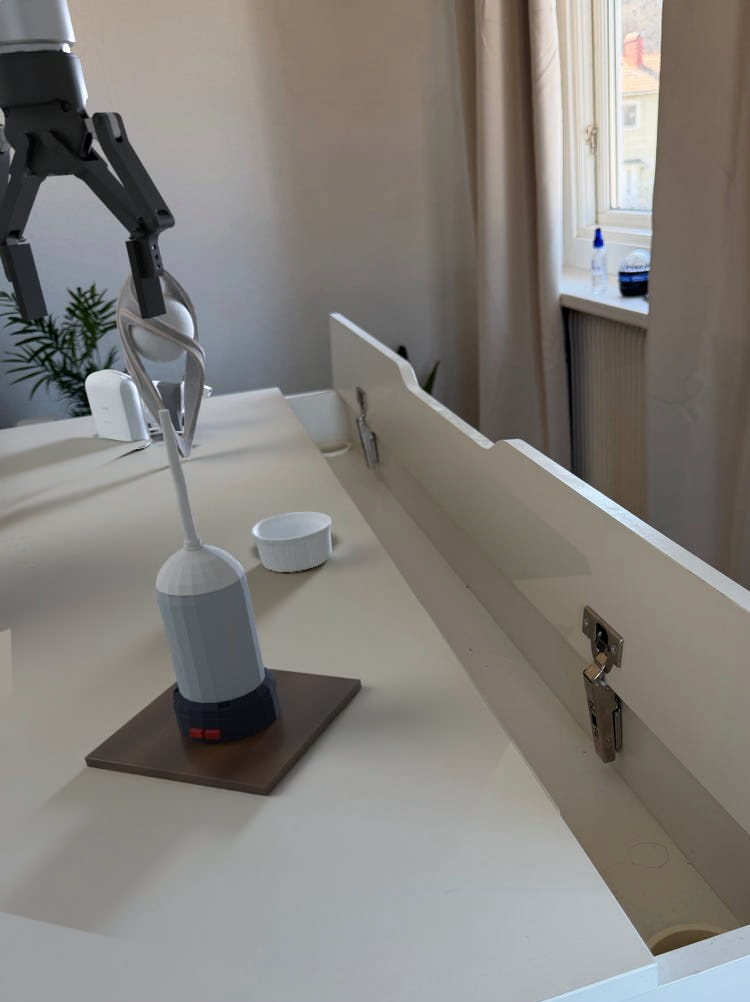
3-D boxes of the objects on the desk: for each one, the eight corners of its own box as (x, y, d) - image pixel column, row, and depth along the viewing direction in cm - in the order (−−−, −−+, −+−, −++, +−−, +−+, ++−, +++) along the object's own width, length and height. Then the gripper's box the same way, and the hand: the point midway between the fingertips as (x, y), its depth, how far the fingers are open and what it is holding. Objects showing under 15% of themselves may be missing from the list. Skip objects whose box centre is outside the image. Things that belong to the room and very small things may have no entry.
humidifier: (187, 754, 74) (107, 432, 63) (172, 706, 81) (98, 407, 70) (291, 726, 77) (233, 411, 66) (268, 681, 84) (212, 390, 73)
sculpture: (231, 446, 156) (193, 246, 143) (216, 468, 146) (174, 254, 133) (159, 452, 156) (114, 252, 143) (139, 474, 146) (89, 261, 132)
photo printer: (96, 446, 163) (77, 371, 157) (117, 439, 166) (99, 365, 160) (134, 453, 157) (116, 375, 151) (156, 445, 160) (139, 369, 155)
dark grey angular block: (130, 438, 166) (116, 381, 161) (139, 430, 170) (126, 374, 166) (215, 432, 165) (204, 375, 161) (222, 424, 170) (212, 368, 166)
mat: (86, 766, 76) (84, 757, 75) (203, 668, 89) (201, 660, 88) (266, 796, 70) (265, 786, 70) (361, 687, 84) (360, 679, 83)
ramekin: (255, 580, 106) (248, 543, 104) (259, 550, 114) (252, 515, 112) (337, 570, 107) (331, 533, 105) (335, 541, 115) (330, 507, 113)
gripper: (183, 40, 80) (230, 308, 90) (-50, 68, 88) (16, 312, 98) (125, 34, 74) (183, 322, 84) (-119, 65, 82) (-41, 325, 92)
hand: (93, 317), depth 91 cm, fingers open, 13 cm apart
